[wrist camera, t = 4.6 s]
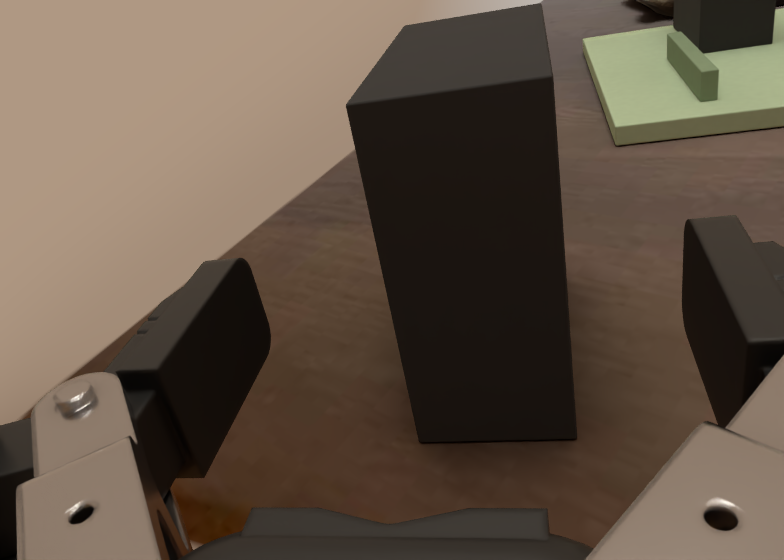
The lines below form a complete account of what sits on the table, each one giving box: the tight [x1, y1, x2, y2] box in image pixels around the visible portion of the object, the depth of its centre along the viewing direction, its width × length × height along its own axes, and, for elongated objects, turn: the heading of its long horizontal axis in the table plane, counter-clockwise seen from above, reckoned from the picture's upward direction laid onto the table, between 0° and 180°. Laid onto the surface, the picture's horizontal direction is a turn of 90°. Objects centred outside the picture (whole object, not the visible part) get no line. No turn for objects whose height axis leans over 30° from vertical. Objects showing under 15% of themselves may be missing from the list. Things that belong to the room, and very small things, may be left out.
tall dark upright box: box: [346, 3, 577, 442], centre depth 18 cm, size 4×8×9 cm, turn 171°
